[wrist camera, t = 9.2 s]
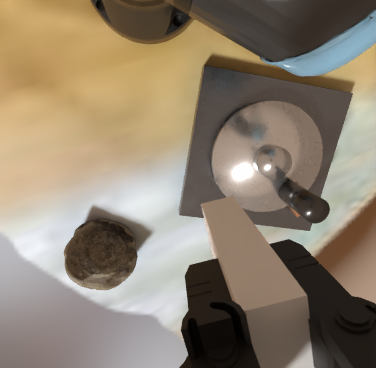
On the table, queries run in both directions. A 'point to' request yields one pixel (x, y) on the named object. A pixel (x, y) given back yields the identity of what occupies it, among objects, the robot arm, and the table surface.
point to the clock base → (234, 101)
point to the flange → (270, 159)
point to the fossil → (100, 254)
